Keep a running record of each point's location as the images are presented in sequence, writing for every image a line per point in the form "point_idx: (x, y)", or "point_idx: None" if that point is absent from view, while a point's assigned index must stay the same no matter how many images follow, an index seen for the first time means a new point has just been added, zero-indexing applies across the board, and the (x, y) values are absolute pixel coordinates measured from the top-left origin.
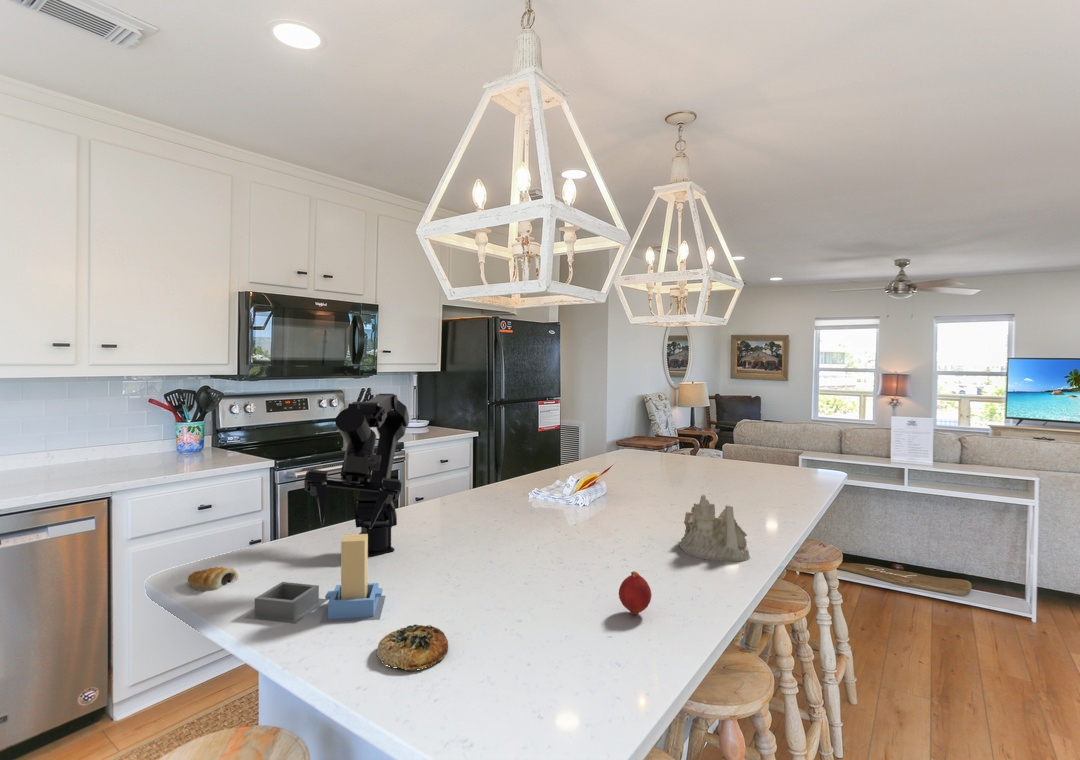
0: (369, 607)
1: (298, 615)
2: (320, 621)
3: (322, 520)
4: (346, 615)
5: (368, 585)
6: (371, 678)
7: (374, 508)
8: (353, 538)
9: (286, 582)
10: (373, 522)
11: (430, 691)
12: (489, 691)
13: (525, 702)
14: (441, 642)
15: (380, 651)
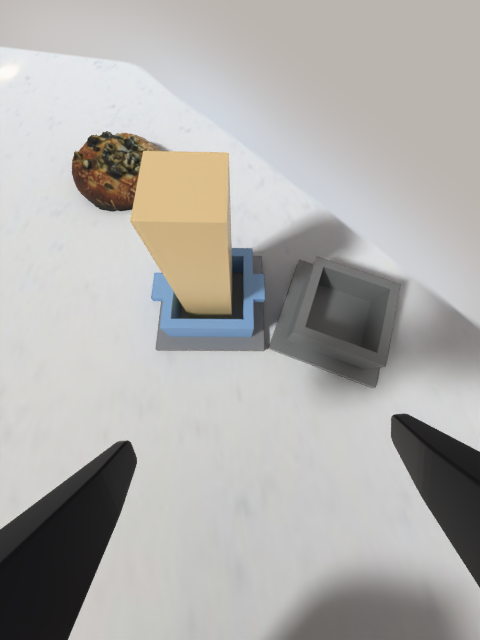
0: None
1: (303, 284)
2: (261, 260)
3: (407, 419)
4: None
5: (182, 319)
6: (175, 141)
7: (4, 559)
8: (186, 177)
9: (374, 360)
10: (95, 459)
11: (116, 116)
12: (58, 109)
13: (31, 93)
14: (80, 149)
15: None
